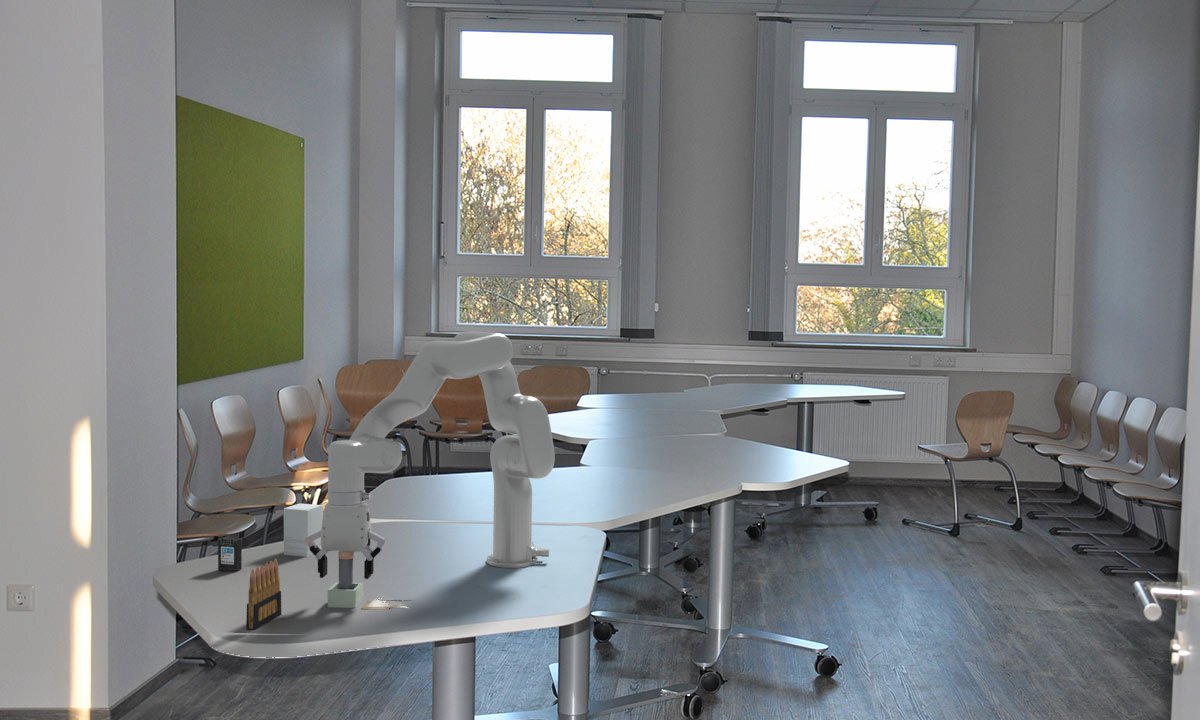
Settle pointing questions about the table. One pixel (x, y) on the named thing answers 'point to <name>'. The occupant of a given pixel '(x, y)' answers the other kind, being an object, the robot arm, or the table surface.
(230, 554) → the ink cartridge
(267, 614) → the ammunition clip
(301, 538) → the supplement box
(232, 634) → the table surface
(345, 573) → the marker
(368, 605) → the writing board
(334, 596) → the green open box
